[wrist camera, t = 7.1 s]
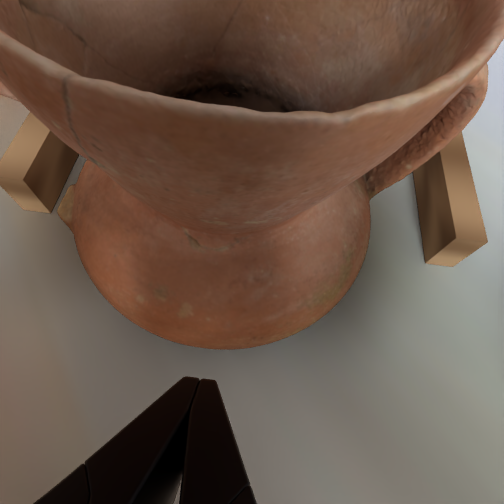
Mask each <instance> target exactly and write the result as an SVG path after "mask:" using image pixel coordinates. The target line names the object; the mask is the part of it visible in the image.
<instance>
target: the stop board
mask: <svg viewBox="0 0 504 504" xmlns="http://www.w3.org/2000/svg"><path fill="white" fill-rule="evenodd" d="M78 155H79V154H78V153H77V152H76V151H74V150H73V149H72V148H71V147H69V146H68V145H66V144H65V143H64V142H63V141H61V140H60V139H59V138H58V137H57V136H56V135H55V134H54V133H53V132H51V131H50V130H49V129H48V128H47V127H46V126H45V125H44V124H43V123H42V122H41V121H40V120H38V119H37V118H36V117H35V116H34V115H33V114H32V113H31V112H30V113H29V115H28V116H27V118H26V120H25V121H24V123H23V124H22V126H21V128H20V129H19V131H18V133H17V134H16V136H15V137H14V139H13V141H12V142H11V144H10V146H9V147H8V149H7V151H6V152H5V154H4V155H3V157H2V159H1V160H0V186H1V187H2V188H3V189H4V190H5V191H6V192H7V193H8V194H9V195H10V196H11V197H12V198H13V199H14V200H15V201H16V202H17V203H18V205H19V206H20V207H21V208H22V209H23V210H29V211H37V212H44V213H51V212H52V210H53V207H54V205H55V203H56V201H57V199H58V197H59V195H60V193H61V191H62V189H63V186H64V184H65V182H66V180H67V178H68V176H69V174H70V172H71V170H72V168H73V165H74V163H75V161H76V159H77V157H78ZM413 175H414V183H415V190H416V197H417V205H418V212H419V219H420V227H421V234H422V241H423V249H424V256H425V263H427V264H434V265H442V266H449V267H453V266H455V265H456V264H458V263H459V262H460V261H462V260H463V259H465V258H466V257H467V256H469V255H470V254H472V253H473V252H475V251H476V250H477V249H479V248H480V247H482V246H483V245H484V244H486V243H487V242H488V240H487V236H486V232H485V227H484V223H483V219H482V215H481V211H480V207H479V202H478V198H477V194H476V190H475V186H474V182H473V177H472V173H471V169H470V165H469V161H468V157H467V152H466V148H465V144H464V140H463V136H462V132H460V133H459V134H458V135H457V136H456V137H455V138H454V139H453V140H452V141H451V142H450V143H448V144H447V145H446V146H445V147H444V148H443V149H442V150H441V151H439V152H437V153H436V154H435V155H434V156H433V157H431V158H430V159H429V160H428V161H426V162H425V163H424V164H422V165H421V166H419V167H418V168H417V169H415V170H414V171H413Z"/></svg>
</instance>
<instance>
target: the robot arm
mask: <svg viewBox="0 0 504 504" xmlns="http://www.w3.org/2000/svg"><path fill="white" fill-rule="evenodd" d="M181 479H182V482H181ZM180 482H181V491H180V500H179V504H257V503H256V500H255V497H254V494H253V491H252V488H251V486H250V482H249V479H248V476H247V473H246V470H245V467H244V464H243V461H242V458H241V455H240V452H239V449H238V446H237V443H236V440H235V437H234V434H233V430H232V427H231V424H230V421H229V418H228V415H227V412H226V409H225V406H224V403H223V400H222V397H221V394H220V391H219V388H218V385H217V382H216V381H215V380H210V379H201V380H199V378H194V377H187V376H186V377H183V378H182V379H181V380H179V381H178V382H177V383H176V384H175V385H174V386H172V387H171V388H170V389H169V390H168V391H167V392H165V393H164V394H163V395H162V396H161V397H160V398H158V399H157V400H156V401H155V402H154V403H153V404H151V405H150V406H149V407H148V408H147V409H146V410H144V411H143V412H142V413H141V414H140V415H139V416H137V417H136V418H135V419H134V420H133V421H132V422H130V423H129V424H128V425H127V426H126V427H125V428H123V429H122V430H121V431H120V432H119V433H118V434H116V435H115V436H114V437H113V438H112V439H111V440H109V441H108V442H107V443H106V444H105V445H104V446H102V447H101V448H100V449H99V450H98V451H97V452H95V453H94V454H93V455H92V456H91V457H90V458H88V459H87V460H86V461H85V465H84V464H81V465H80V466H79V467H78V468H77V469H75V470H74V471H73V472H72V473H71V474H69V475H68V476H67V477H66V478H65V479H63V480H62V481H61V482H60V483H59V484H57V485H56V486H55V487H54V488H52V489H51V490H50V491H49V492H48V493H46V494H45V495H44V496H43V497H41V498H40V499H39V500H37V501H36V502H35V503H33V504H173V503H174V500H175V497H176V494H177V491H178V488H179V485H180Z"/></svg>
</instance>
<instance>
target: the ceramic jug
mask: <svg viewBox="0 0 504 504" xmlns="http://www.w3.org/2000/svg"><path fill="white" fill-rule="evenodd" d="M503 39H504V0H0V95H3V96H6V97H9V98H12V99H14V100H17V101H19V102H21V103H22V104H23V105H24V106H25V107H26V108H27V109H28V110H29V111H30V112H31V113H32V114H33V115H34V116H35V117H36V118H37V119H38V120H40V121H41V122H42V123H43V124H44V125H45V126H46V127H47V128H48V129H49V130H50V131H51V132H53V133H54V134H55V135H56V136H57V137H58V138H59V139H60V140H61V141H63V142H64V143H65V144H66V145H68V146H69V147H71V148H72V149H73V150H74V151H76V152H77V153H78V154H80V155H82V156H83V157H85V158H86V159H87V160H86V162H85V164H84V166H83V168H82V171H81V173H80V175H79V178H78V181H77V183H76V184H74V185H71V186H70V187H69V188H68V189H67V192H66V195H65V196H64V198H63V199H62V201H61V203H60V206H59V207H58V210H57V212H58V215H59V216H60V218H61V219H62V220H63V221H64V222H65V223H66V225H67V226H68V227H69V228H70V229H71V231H72V232H73V234H74V238H75V242H76V246H77V250H78V253H79V256H80V258H81V261H82V264H83V265H84V267H85V270H86V271H87V273H88V275H89V277H90V278H91V280H92V281H93V283H94V284H95V286H96V287H97V289H98V290H99V291H100V292H101V294H102V295H103V296H104V297H105V298H106V299H107V301H108V302H109V303H110V304H111V305H112V306H113V307H114V308H116V309H117V310H118V311H119V312H120V313H121V314H122V315H124V316H125V317H126V318H128V319H129V320H130V321H132V322H133V323H135V324H136V325H138V326H140V327H142V328H143V329H145V330H147V331H149V332H151V333H153V334H155V335H157V336H160V337H162V338H165V339H167V340H170V341H173V342H177V343H180V344H184V345H189V346H194V347H200V348H208V349H243V348H251V347H256V346H261V345H265V344H269V343H272V342H275V341H279V340H281V339H284V338H286V337H289V336H291V335H293V334H296V333H298V332H300V331H301V330H303V329H305V328H307V327H309V326H310V325H312V324H313V323H315V322H316V321H318V320H319V319H320V318H322V317H323V316H324V315H325V314H327V313H328V312H329V311H330V310H331V309H332V308H333V307H334V306H335V305H336V304H337V303H338V302H339V301H340V300H341V299H342V298H343V297H344V295H345V294H346V293H347V291H348V290H349V289H350V287H351V285H352V284H353V282H354V281H355V279H356V277H357V275H358V273H359V271H360V269H361V266H362V264H363V261H364V259H365V255H366V252H367V248H368V243H369V237H370V205H369V201H370V199H371V198H372V197H373V196H375V195H376V194H378V193H379V192H380V191H382V190H384V189H385V188H387V187H389V186H391V185H393V184H394V183H396V182H398V181H400V180H402V179H403V178H405V177H406V176H407V175H409V174H410V173H411V172H412V171H414V170H415V169H417V168H418V167H419V166H421V165H422V164H424V163H425V162H426V161H428V160H429V159H430V158H431V157H433V156H434V155H435V154H436V153H437V152H439V151H441V150H442V149H443V148H444V147H445V146H446V145H447V144H448V143H450V142H451V141H452V140H453V139H454V138H455V137H456V136H457V135H458V134H459V133H460V132H461V131H462V130H463V129H464V128H465V127H466V125H467V124H468V123H469V122H470V120H471V119H472V118H473V117H474V116H475V114H476V113H477V112H478V110H479V108H480V107H481V105H482V103H483V101H484V99H485V96H486V92H487V87H488V65H487V62H488V61H489V59H490V58H491V57H492V55H493V54H494V53H495V51H496V50H497V48H498V47H499V45H500V43H501V42H502V40H503Z"/></svg>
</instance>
